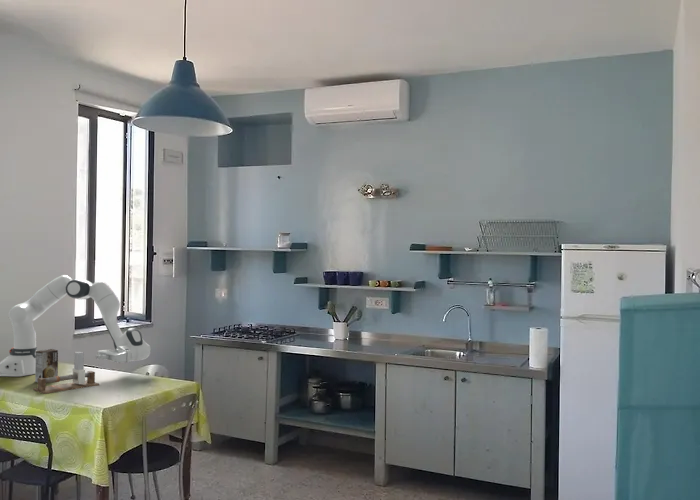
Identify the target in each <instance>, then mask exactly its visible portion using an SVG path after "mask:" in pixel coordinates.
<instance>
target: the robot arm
mask: <svg viewBox="0 0 700 500" xmlns="http://www.w3.org/2000/svg"><path fill="white" fill-rule="evenodd" d="M66 296H68V297H70V298H72V299H75V300H76V299H77V300H89V299H92V300H93V301H94V302H95V304H96V306H97V308H98V310H99V311H100V314H101V318H102V321H103V323H104V326H105V327H106V330H107V332H108V333H109V336H110V337H111V340H112V343H113V347H114V350H113V349H100V350H97V351H96V355H95V359H96V360H106V361H110V362H113V363H118V364H123V363H125V364H126V363H131V362H136V361H138V362H139V361H142V360H146V359H147V358H148V357H150V355H151V350H152V347H151V345H150V344H148V343H147V342H146V341H145V340H144V338H143V335H142V333H141V331H140V330H139V328H138V329H137V328H136V327H129V328H128V329H126V331H124V333H123V332H122V330H121V328H120V326H119V324H118V319H117V317H118V313H119V310H120V308H121V304H120V303H121V302H120V301H119V298H118V297H117V295H116V293H115V292H114V290H112V288H111V287H110V285H108V284H107V283H106V282H105V281H103V280H98V281H95V282H92V281H90V280H88V279H84V278H83V279H80V278H79V279H78V278H75V279H73V278H71V277H70V276H68V275H67V274H61V275H60V276H57V277H55V278H54V279H52V280H50V281H49V282H48V283H47V284H45V285H44V286H42V287H41V288H39V290H37V291H35V293H34V294H33V295H32V296H31V297H30V298H29V299H28V300H26V301H24V302H21V303H18V304H16V305H15V304H14V305H13V306H12V307H11V308H10V309H9V311H8V318H9V320H10V322H11V326H12V327H11V328H12V332H13V347H11V348H10V349H9V350H8V352H9V355H8V356H7V357H5V358H4V359H2V360H1V361H0V377H23V376H24V377H25V376H31V375H35V364H36V351H38V347H37V332H36V329H35V328H34V321H36V320H37V319H38V318H40V317H41V316H42V315H43V314H44V313H45V312H46V311H48V310H49V309H50V308H51V307H52V306H53V305H55V304H57V303H58V302H59V301H60V300H62V299H63V298H64V297H66Z"/></svg>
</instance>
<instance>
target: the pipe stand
mask: <svg viewBox="0 0 700 500" xmlns="http://www.w3.org/2000/svg"><path fill="white" fill-rule="evenodd" d="M85 378H87V379H85V384H76V383H73V381H72V382H67V383H61V384H60V383H59V382H62V381H70V380H73V379H78V374H73V373H72V374H68V375H67V374H66V375H58V376H55V377H51V378H38V382H37V387H35V388H32V390H33V391H34V390H35V391H34V392H37V393H40V394H42V393H43V395H46V394H52V393H58V392H60V393H61V392H65V391H72V390H77V389H84V388H91V387H97V386H100V383H99V382H96V381H95V380H96V372H95V371H92V370H89V371H87V372H85ZM49 383H59V384H52V385H47V386H46V384H49Z"/></svg>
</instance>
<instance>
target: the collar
mask: <svg viewBox="0 0 700 500" xmlns="http://www.w3.org/2000/svg"><path fill="white" fill-rule="evenodd" d="M73 355H74V356H73V357H74V358H73V361H74V362H73V363H74V365H73V368H72V374H78V379H72V382H73V383H76V384H85V381H86V377H85V373H86V369H85V368H84V367H85V359H84V358H85V353H84V352H83V351H75V352H74V354H73Z"/></svg>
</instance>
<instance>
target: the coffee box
mask: <svg viewBox="0 0 700 500" xmlns="http://www.w3.org/2000/svg"><path fill="white" fill-rule="evenodd" d="M58 362H59V350H58V349H54V348H49V349H41V350H37V351H36V364H35V374H34V377H35V379H34V380H35V381H34V382H35V383H38V378H51V377H55V376H59V363H58Z"/></svg>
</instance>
